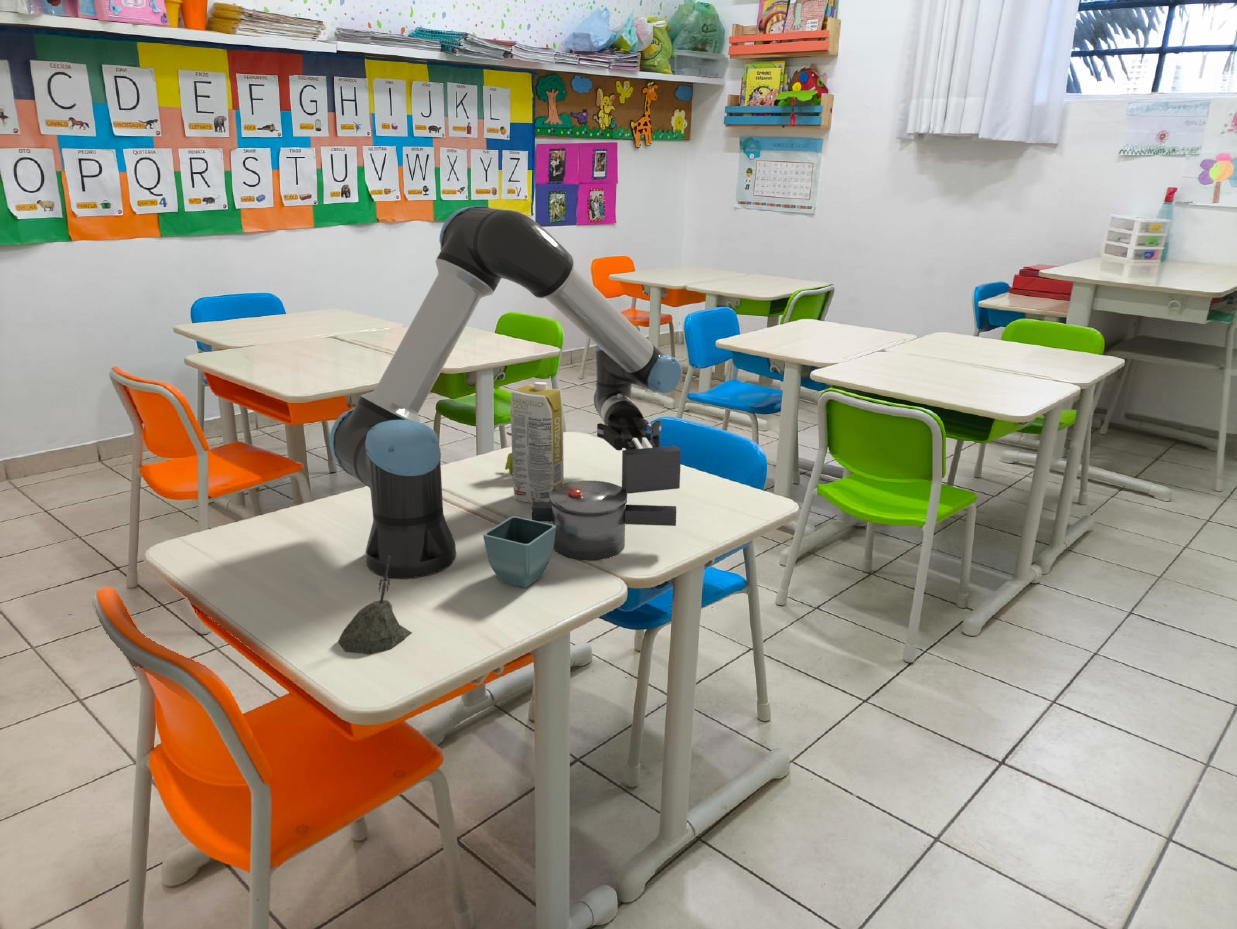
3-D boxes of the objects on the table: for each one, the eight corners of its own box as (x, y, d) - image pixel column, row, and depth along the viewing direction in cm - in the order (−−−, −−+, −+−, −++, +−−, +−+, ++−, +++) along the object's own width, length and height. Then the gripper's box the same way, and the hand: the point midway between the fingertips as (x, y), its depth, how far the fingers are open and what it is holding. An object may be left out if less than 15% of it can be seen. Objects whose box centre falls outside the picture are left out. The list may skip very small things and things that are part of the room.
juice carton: (568, 496, 179) (567, 382, 170) (547, 509, 172) (545, 391, 164) (530, 488, 183) (527, 376, 175) (508, 500, 176) (504, 385, 168)
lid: (559, 518, 146) (558, 472, 143) (543, 489, 158) (542, 446, 156) (689, 504, 152) (691, 460, 150) (664, 478, 165) (665, 436, 162)
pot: (528, 558, 152) (526, 513, 149) (538, 528, 164) (537, 486, 161) (675, 564, 150) (676, 518, 147) (674, 532, 163) (676, 490, 160)
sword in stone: (360, 664, 121) (350, 585, 117) (330, 645, 126) (320, 569, 122) (421, 636, 128) (413, 561, 124) (390, 619, 133) (382, 547, 129)
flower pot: (483, 584, 143) (481, 534, 140) (514, 562, 150) (512, 514, 147) (528, 596, 139) (527, 545, 136) (557, 574, 146) (557, 525, 143)
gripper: (588, 401, 176) (608, 438, 154) (656, 398, 178) (685, 434, 156) (588, 437, 178) (608, 478, 157) (655, 433, 181) (684, 473, 159)
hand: (646, 456), depth 157 cm, fingers closed
